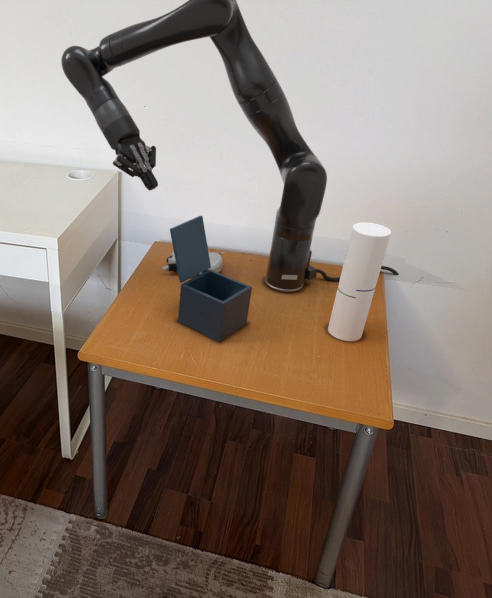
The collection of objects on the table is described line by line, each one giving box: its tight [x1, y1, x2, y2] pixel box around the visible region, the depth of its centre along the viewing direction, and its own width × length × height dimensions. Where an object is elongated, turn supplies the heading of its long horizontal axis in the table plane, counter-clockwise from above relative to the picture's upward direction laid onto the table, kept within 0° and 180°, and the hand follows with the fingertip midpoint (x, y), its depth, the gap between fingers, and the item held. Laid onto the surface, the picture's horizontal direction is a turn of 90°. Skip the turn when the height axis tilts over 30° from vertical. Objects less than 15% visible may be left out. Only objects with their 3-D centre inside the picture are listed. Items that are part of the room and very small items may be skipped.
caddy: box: [177, 269, 253, 343], centre depth 129 cm, size 12×11×10 cm
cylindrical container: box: [327, 221, 392, 342], centre depth 122 cm, size 7×7×25 cm
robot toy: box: [162, 251, 226, 277], centre depth 153 cm, size 12×4×15 cm
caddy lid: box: [169, 215, 211, 284], centre depth 129 cm, size 12×11×1 cm
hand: (153, 188), depth 130 cm, fingers closed
